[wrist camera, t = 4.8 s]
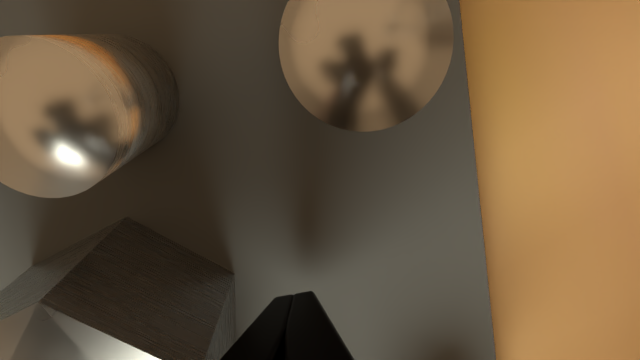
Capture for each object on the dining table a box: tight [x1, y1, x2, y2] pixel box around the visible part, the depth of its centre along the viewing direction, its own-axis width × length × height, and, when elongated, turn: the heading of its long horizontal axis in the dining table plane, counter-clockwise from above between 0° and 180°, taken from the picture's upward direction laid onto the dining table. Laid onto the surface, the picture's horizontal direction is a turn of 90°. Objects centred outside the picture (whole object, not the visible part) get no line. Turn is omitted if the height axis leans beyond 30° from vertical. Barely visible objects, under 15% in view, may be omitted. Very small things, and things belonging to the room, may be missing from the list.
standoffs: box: [0, 0, 454, 198], centre depth 9 cm, size 11×12×3 cm
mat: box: [0, 0, 496, 360], centre depth 10 cm, size 12×16×1 cm
